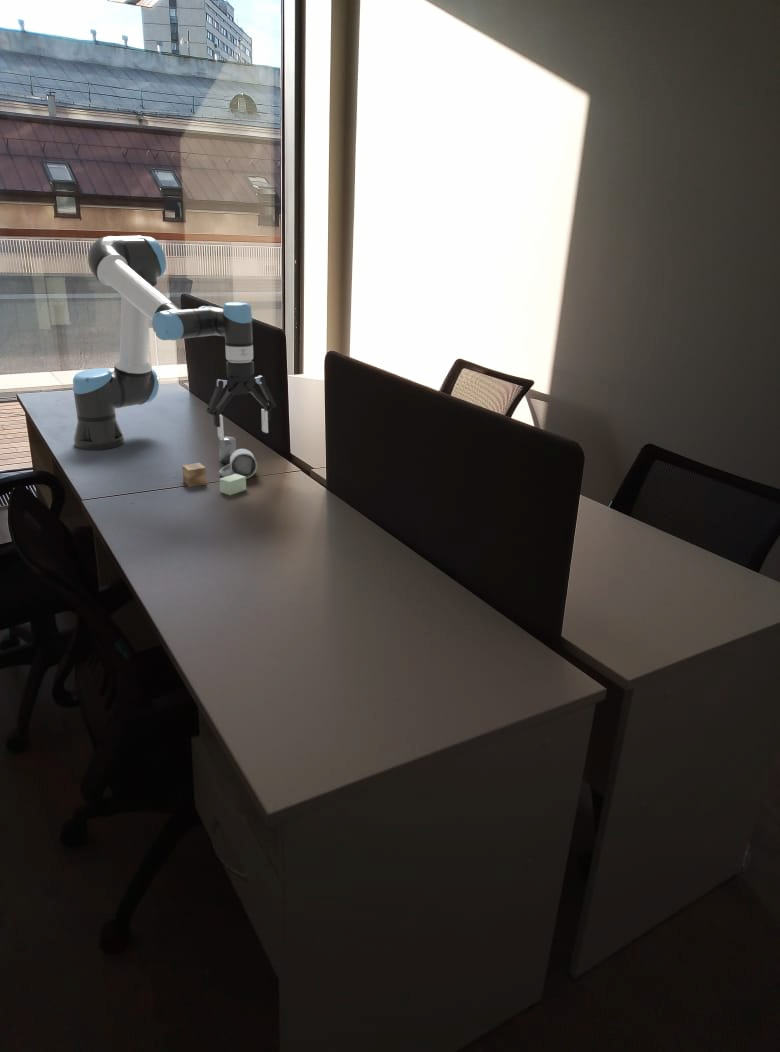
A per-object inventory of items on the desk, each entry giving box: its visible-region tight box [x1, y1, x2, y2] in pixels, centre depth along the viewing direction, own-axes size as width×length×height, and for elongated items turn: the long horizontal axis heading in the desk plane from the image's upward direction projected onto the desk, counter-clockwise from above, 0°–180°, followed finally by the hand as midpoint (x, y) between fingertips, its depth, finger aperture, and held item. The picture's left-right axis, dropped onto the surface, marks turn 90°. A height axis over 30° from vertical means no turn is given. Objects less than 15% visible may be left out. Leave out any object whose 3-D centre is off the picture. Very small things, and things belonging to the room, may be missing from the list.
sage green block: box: [219, 474, 247, 496], centre depth 212 cm, size 6×4×4 cm, turn 143°
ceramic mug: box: [219, 448, 258, 480], centre depth 224 cm, size 11×8×8 cm
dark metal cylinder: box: [218, 435, 237, 464], centre depth 236 cm, size 5×5×7 cm
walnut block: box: [181, 462, 208, 488], centre depth 217 cm, size 5×5×5 cm
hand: (243, 434), depth 221 cm, fingers open, 13 cm apart
